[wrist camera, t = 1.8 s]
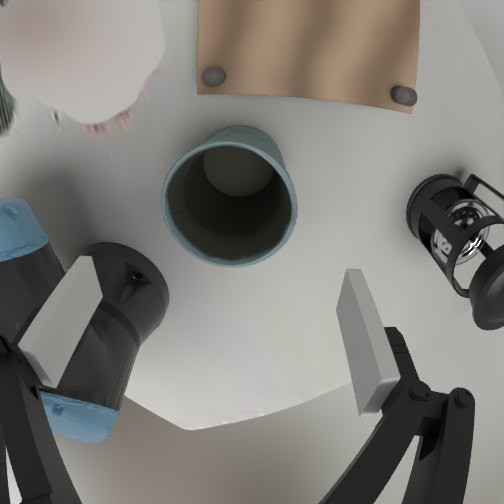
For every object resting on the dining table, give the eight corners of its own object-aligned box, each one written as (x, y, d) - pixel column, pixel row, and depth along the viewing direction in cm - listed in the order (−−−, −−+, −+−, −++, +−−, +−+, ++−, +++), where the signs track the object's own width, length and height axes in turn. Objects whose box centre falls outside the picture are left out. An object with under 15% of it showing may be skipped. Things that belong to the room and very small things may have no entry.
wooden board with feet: (210, 89, 29) (191, 96, 21) (216, -62, 19) (201, -99, 12) (384, 104, 29) (422, 118, 21) (390, -43, 19) (426, -68, 11)
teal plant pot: (278, 211, 36) (284, 275, 26) (189, 201, 36) (161, 260, 26) (293, 124, 31) (309, 152, 21) (195, 113, 30) (161, 136, 20)
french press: (438, 254, 38) (520, 389, 19) (389, 228, 37) (475, 382, 17) (483, 185, 32) (601, 294, 13) (438, 148, 31) (581, 257, 11)
